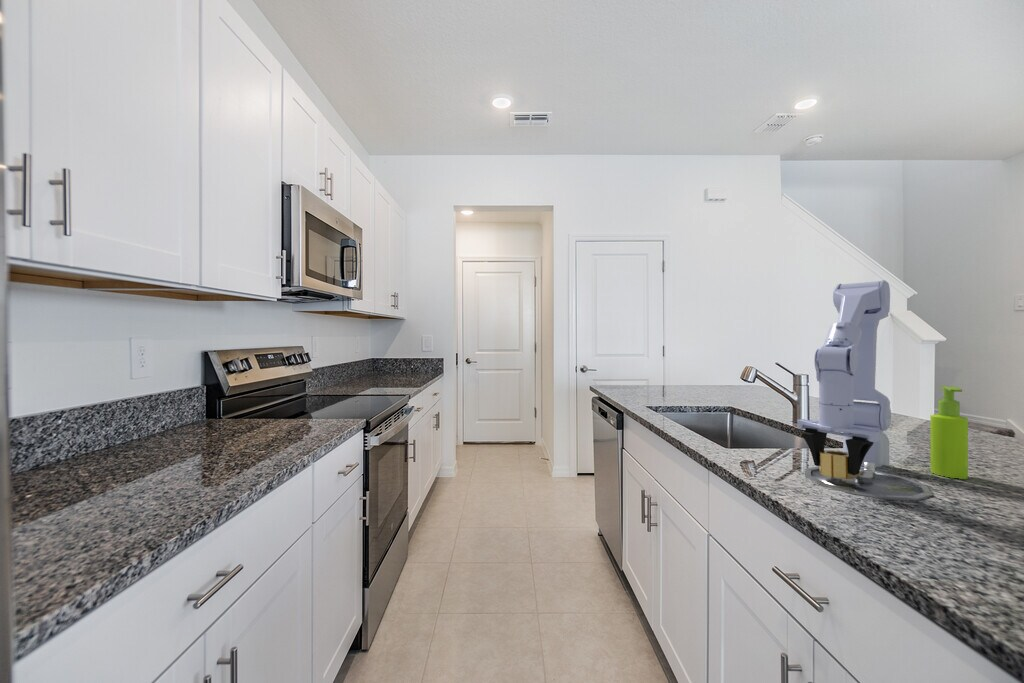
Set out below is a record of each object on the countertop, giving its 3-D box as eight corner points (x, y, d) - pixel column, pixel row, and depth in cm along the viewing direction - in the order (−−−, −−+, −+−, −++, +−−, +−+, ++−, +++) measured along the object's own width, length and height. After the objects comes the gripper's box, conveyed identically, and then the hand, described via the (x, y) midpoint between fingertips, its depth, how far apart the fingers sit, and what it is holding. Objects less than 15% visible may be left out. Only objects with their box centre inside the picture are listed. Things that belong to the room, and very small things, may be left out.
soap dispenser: (938, 478, 94) (938, 387, 94) (926, 469, 100) (926, 384, 100) (975, 482, 91) (975, 388, 91) (960, 473, 98) (960, 385, 98)
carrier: (838, 467, 102) (838, 450, 102) (951, 495, 84) (951, 474, 84) (784, 479, 94) (784, 461, 94) (897, 512, 75) (897, 490, 75)
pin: (833, 484, 90) (833, 465, 90) (843, 486, 89) (843, 467, 89) (828, 485, 90) (828, 466, 90) (838, 488, 88) (838, 468, 88)
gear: (813, 472, 91) (812, 451, 91) (833, 470, 93) (833, 449, 93) (840, 480, 86) (840, 457, 86) (862, 477, 87) (861, 455, 87)
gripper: (788, 400, 94) (788, 462, 94) (865, 410, 81) (865, 482, 81) (808, 398, 97) (808, 458, 97) (886, 407, 84) (886, 477, 84)
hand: (836, 469), depth 89 cm, fingers closed on gear, 6 cm apart
